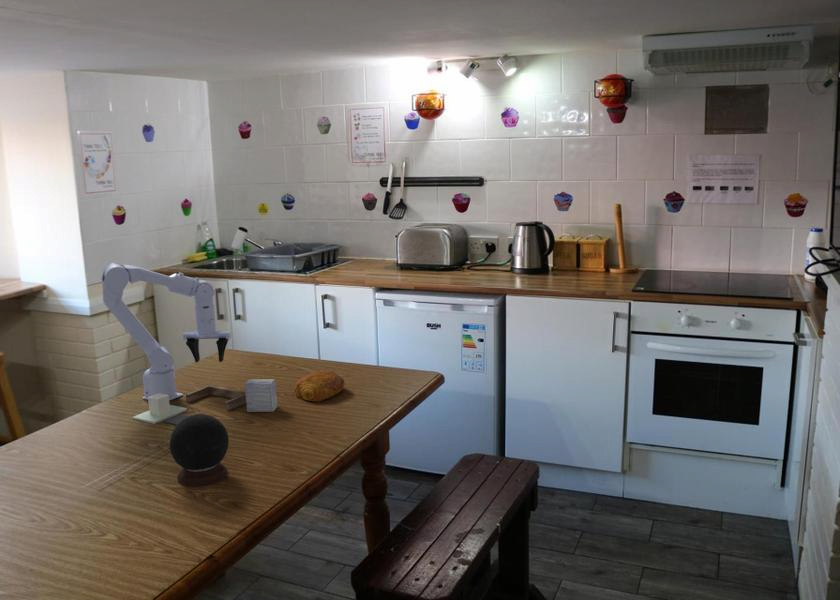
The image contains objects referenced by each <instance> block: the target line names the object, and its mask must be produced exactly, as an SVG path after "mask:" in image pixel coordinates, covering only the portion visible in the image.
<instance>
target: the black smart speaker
mask: <svg viewBox="0 0 840 600" xmlns="http://www.w3.org/2000/svg"><path fill="white" fill-rule="evenodd" d="M187 416H188V417H186V418H184V419H183V420H182V421H181V422H179V423H178V424H177V425H175V427H174V428H173V430H172V432H171V434H170V438H169V451H170V455H171V456H172V458H173V460H174V462H175V463H176V464H177V465H178V466H180V468H182V469H180V471H179V473H178V474H177V477H176V478H177V482H178V484H179V485H181V486H183V487H187V488H203V487H208V486H211V485H215V484H217V483H220V482H221V481H223V480H224V479H225V478H227V476H228V468H227V467H226V466H225V465H224V464H223V462H222V461H223V459H224V458H225V456H226V455H227V452H228V449H229V441H230V440H229V434H228V431H227V429H226V427H225V425H224V424H223V423H222V422H221V421H220V420H219V419H218V418H217V417H214V416H212V415H210V414H205V413H196V414H191V415H187ZM221 462H222V463H221Z"/></svg>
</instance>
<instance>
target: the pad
mask: <svg viewBox="0 0 840 600" xmlns="http://www.w3.org/2000/svg"><path fill="white" fill-rule="evenodd" d="M187 411H188V408H187V407H182V406H178V405H173V404H170V412H168V413H165V414H163V415H161V416H157V415H153V414H150V413H149V410H147V411H144V412H142V413H140V414H137V415H134V416H132V418H131V419H132V420H134V421H135V420H136V421H138V422H139V421H140V422H145V423H148V424H153V425H156V424H159V423H160V422H162V421H163V422H164V421H165V420H168V419H170V418H172V417H175V416H177V415H180V414H182V413H184V412H187Z"/></svg>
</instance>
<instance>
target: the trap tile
mask: <svg viewBox="0 0 840 600" xmlns="http://www.w3.org/2000/svg"><path fill="white" fill-rule="evenodd" d="M188 416H189V415H185V414H182V413H180V414H177V415H175V416H172V417H170V418H168V419H165V420H163V423H164V424H169V425H173V426H176V425H177V424H178V423H179V422H181V421H182V420H183V419H184V418H186V417H188Z"/></svg>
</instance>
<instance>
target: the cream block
mask: <svg viewBox="0 0 840 600" xmlns="http://www.w3.org/2000/svg"><path fill="white" fill-rule="evenodd" d="M147 402H148V403H147V404H148V411H149V413H150V414H153V415H157V416H161V415H163V414H165V413H168V412H170V405H171V404H170V401H169V395H166V394H161V393H158V394H155V395H153V396H150V397H148V400H147Z"/></svg>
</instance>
